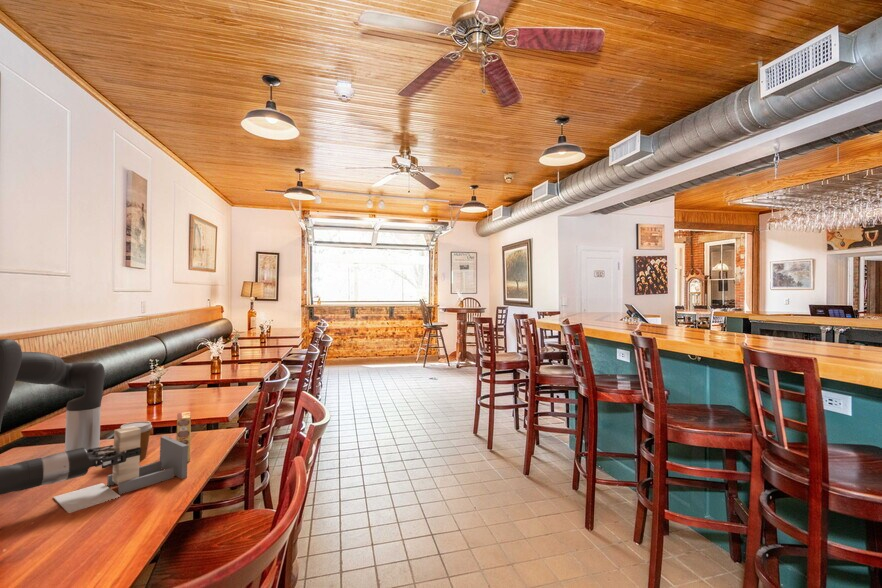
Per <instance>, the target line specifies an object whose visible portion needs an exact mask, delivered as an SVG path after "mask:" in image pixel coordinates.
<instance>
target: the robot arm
mask: <svg viewBox="0 0 882 588" xmlns="http://www.w3.org/2000/svg"><path fill="white" fill-rule="evenodd" d="M105 372H106V371H105V367H104V365H103V364H102V363H101V362H71V363H67V362H65V361H64V360H63V359H62V358H61V357H59V356H57V355H54V354H49V353H45V352H39V351H22V347H21V345H20V344H19V343H18V342H17V341H16V340H14V339H11V338H0V431H1V430H2V429H1V428H2V424H3V423H2V422H3V418H4V414H5V411H6V408H7V405H8V402H9V399H10V397H11V394H12V391H13V388H14V386H15V384H16V381H17V382H22V383H26V384H27V383H28V384H34V385H55V386H57V387H61V388H64V389H68V390H84V394H83V395H82V396H80V397H76V398H73V399H70V400H69V401H67V403H66V413H65V414H66V416H65V437H64V438H65V442H64V451H61V452H56V453H52V454H49V455H48V454H47V455H45V456H42V457H38V458H33V459H28V460H24V461H20V462H16V463H13V464H8V465H2V466H0V496H1V495H6V494H8V493H14V492H15V493H16V492H21V491H26V490H28V489H33V488H37V487H40V486H45V485H51V484H52V485H53V484H56V483H60V482H64V481H68V480H71V479H72V480H73V479H74V478H75V479H76V478H79V477H83V476H85V475H87V473H89V472H88V471H89V470H90V468H99V467H100V468H102V469H107V468H110V467H113V465H116V464H119V463H123V462H125V461H126V458H130V457H134V456H138V455H140V454H141V448H140V447H138V448H133V449H129V450H123V451H116V450H114V444H113V445H112V444H110V445H106V446H100V440H101V439H100V438H101V409H102V408H101V406H102V400H103V395H104V385H105V383H104V382H105ZM120 456H121V458H118V457H120Z"/></svg>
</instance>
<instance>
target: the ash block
mask: <svg viewBox="0 0 882 588" xmlns="http://www.w3.org/2000/svg"><path fill="white" fill-rule="evenodd" d="M113 432H114V434H113V445H114V446H113V447H114V450H116V451H123V450H129V449H133V448H138V447H140V438H141V429H140V428H138V427H135V426H132V427H127V428H121V429H120V428H117V429H114V431H113ZM118 458H121V456H120V457H118ZM140 461H141V460H140V455H138V456H134V457H130V458H126V461H125V462H123V463H119V464H116V465H113V466H112V473H111V474H112V481H113V482H115V483H116V484H115V485H117V486H119V483H120V482H124V481H127V480H131V479H134V478H138V477H139V467H140V464H141V463H140Z"/></svg>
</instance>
